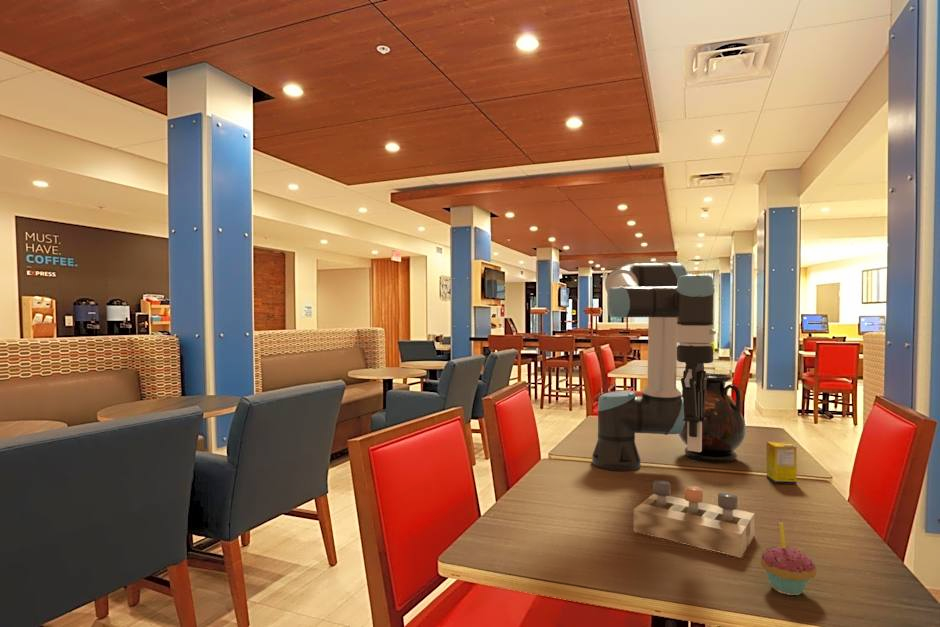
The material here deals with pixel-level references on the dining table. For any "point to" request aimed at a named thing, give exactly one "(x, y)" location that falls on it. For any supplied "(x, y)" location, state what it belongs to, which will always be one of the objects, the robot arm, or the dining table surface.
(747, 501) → the dining table surface
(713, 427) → the amphora vase
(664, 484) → the charcoal plug left
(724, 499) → the charcoal plug right
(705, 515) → the panel
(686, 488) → the terracotta plug
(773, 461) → the supplement box
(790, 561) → the cupcake
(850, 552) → the dining table surface
